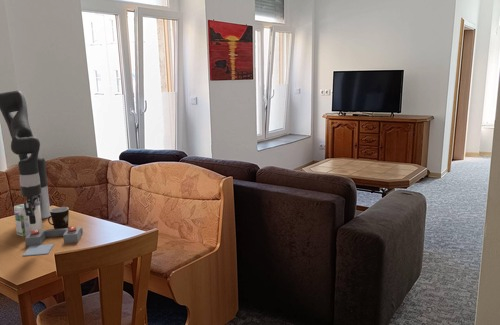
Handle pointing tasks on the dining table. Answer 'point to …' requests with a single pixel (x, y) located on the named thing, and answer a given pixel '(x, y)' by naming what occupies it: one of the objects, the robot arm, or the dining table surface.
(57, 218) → the coffee mug
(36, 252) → the mat
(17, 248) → the dining table surface
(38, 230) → the left plunger
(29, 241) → the housing
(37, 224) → the cylinder
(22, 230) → the syrup box
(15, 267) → the dining table surface
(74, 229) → the right plunger
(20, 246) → the dining table surface
